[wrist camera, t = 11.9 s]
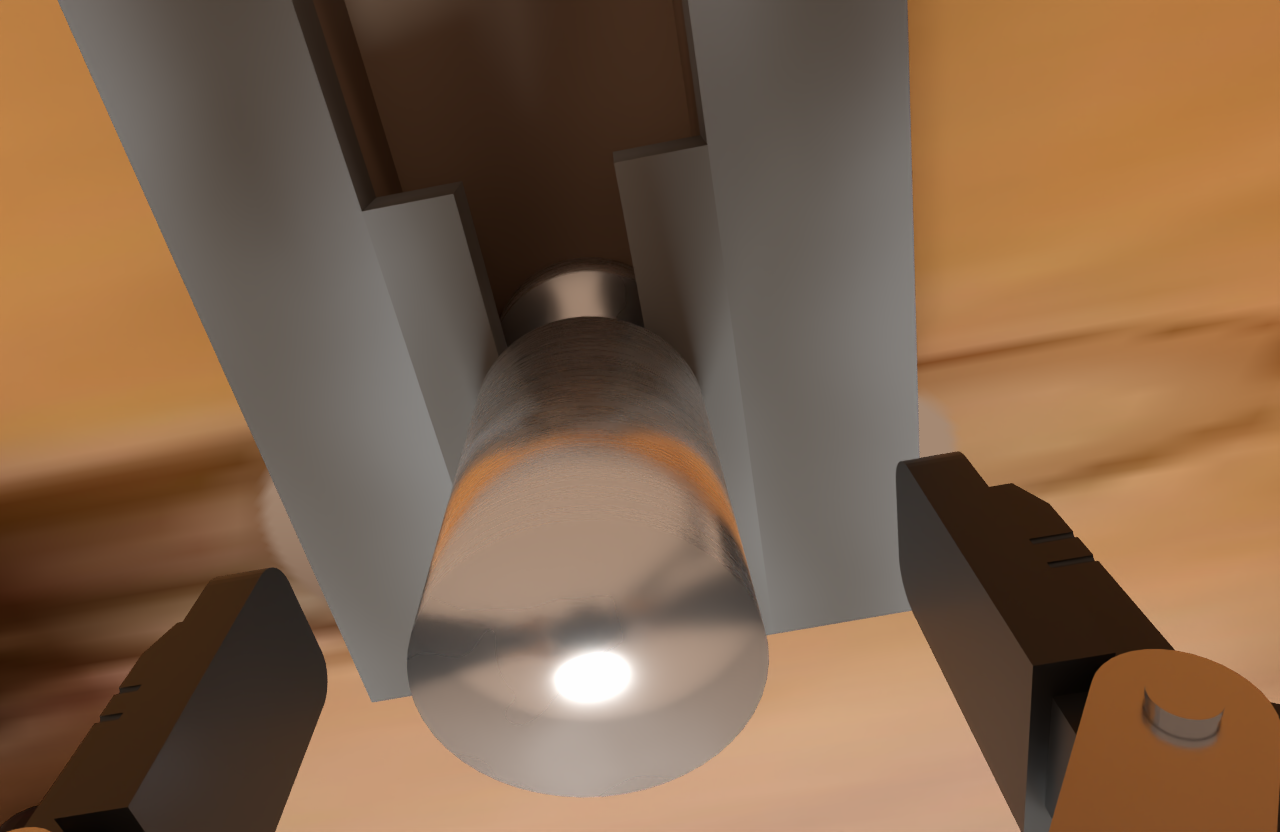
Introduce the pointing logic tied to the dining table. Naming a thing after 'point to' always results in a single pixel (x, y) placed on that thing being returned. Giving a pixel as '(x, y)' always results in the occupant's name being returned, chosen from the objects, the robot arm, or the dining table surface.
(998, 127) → the dining table surface
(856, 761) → the dining table surface
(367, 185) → the keyhole block
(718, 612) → the steel peg
